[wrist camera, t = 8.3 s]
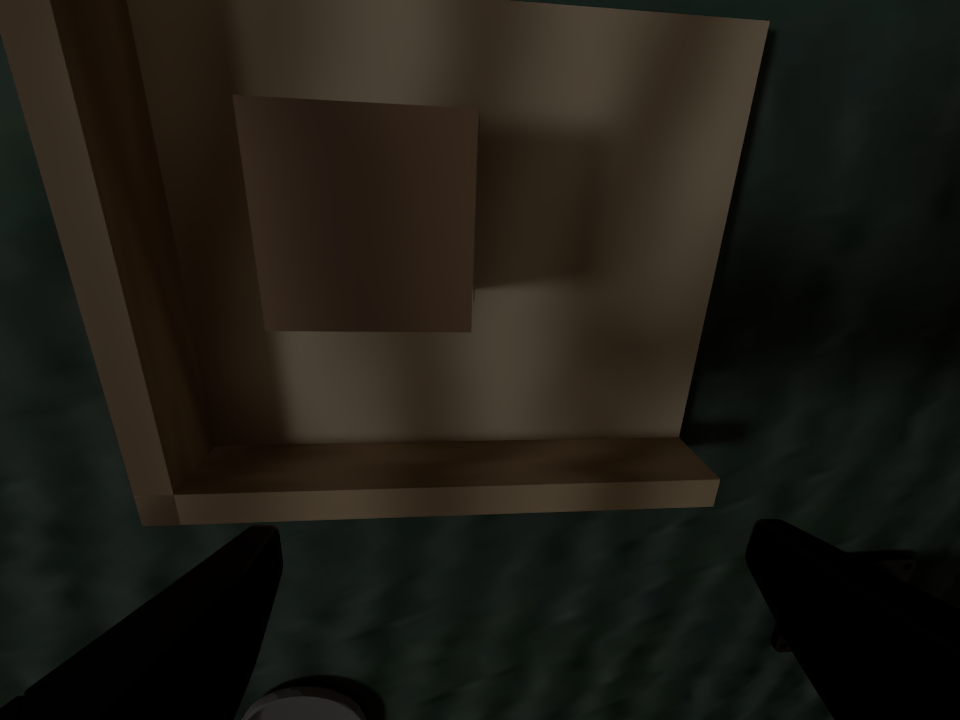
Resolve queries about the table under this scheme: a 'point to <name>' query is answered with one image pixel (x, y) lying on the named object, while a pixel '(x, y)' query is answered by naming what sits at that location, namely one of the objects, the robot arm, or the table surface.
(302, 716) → the pocket watch
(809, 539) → the robot arm
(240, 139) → the walnut block
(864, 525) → the table surface
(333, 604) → the table surface
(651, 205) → the board
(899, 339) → the table surface
